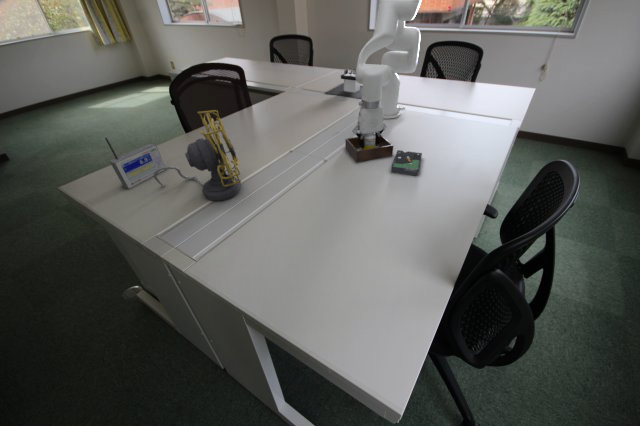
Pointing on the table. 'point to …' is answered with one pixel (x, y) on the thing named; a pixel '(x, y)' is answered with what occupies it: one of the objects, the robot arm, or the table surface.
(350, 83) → the black-topped pedestal
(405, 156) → the disk drive
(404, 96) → the table surface
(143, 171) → the electronic device
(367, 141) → the supplement bottle
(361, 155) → the desk caddy
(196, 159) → the electric fan
